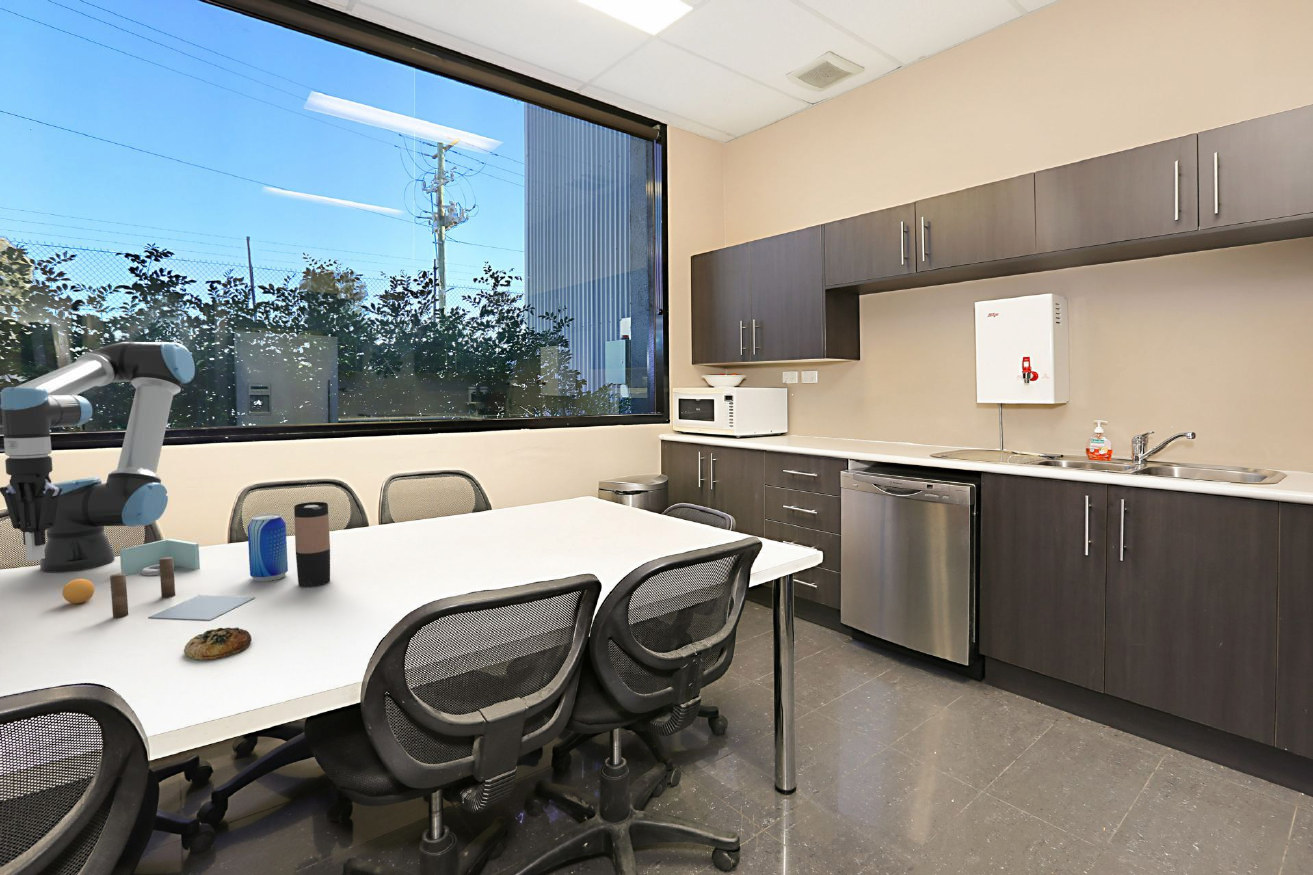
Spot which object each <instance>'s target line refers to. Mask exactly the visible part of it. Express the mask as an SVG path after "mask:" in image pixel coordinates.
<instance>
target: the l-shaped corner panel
mask: <svg viewBox="0 0 1313 875" xmlns="http://www.w3.org/2000/svg"><path fill="white" fill-rule="evenodd" d="M199 545H200V544H199V543H198V542H192V541H185V540H180V539H173V538H167V539H162V540H157V541H153V542H149V543H143V544H140V545H134V546H130V547H126V548H120V549H119V557H120V558H119V559H120V573H125V574H126V576H128V575H133V574H137V573H141V575H144V576H150V577H151V576H158V575H159V576H160V565H159V559H161V558H165V557H173V566H174V565H175V566H174V571H175V567H181V568H185V567H187V568H186V569H190V568H191V570H199V569H201V564H200V562H201V561H200V548H199Z"/></svg>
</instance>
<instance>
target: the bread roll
mask: <svg viewBox="0 0 1313 875" xmlns="http://www.w3.org/2000/svg"><path fill="white" fill-rule="evenodd" d="M251 643H252V635H251V633H250V632H249V631H248V630H246V629H244V628H240V627H237V626H236V627H224V628H223V627H218V628H216V629H213V628H212V629H209V630H206V631H204V632H203V633H201V634H198V635H195V636H193V637H192V638H190V640H189V641H188V642H187V643H186V644H185V646H184V649H183V653H184V655H185V656H186V657H187V658H189V659H193V660H199V661H214V660H219V659H223V658H227V657H229V656H232V655H235V654H238V653H239V654H240V653H241V652H243V651H244V650H246V649H247V648H249V646H250V645H251Z"/></svg>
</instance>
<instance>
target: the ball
mask: <svg viewBox="0 0 1313 875" xmlns="http://www.w3.org/2000/svg"><path fill="white" fill-rule="evenodd" d="M95 588H96V587H95V585H94V582H92V581H90V580H89V579H85V578H76V579H72V580H71V581H69V582H68V583H66V584H65V585H64V586H63V589H62V592H61V593H62V597H63V599H64V600H65V601H66V602H67V603H70V604H81V603H85V602H87V601H89V600H90V599H91V598H92V597H93V596H94V593H95V590H96V589H95Z"/></svg>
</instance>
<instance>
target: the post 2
mask: <svg viewBox="0 0 1313 875" xmlns="http://www.w3.org/2000/svg"><path fill="white" fill-rule="evenodd" d="M159 565H160V575H159V579H160V595H161V598H162V599H166V598H172V597H173V598H174V597H175V596H176V587H175V586H176V585H175V570H174V569H175V568H174V567H175V566H173V557H165V558H161V559H159Z"/></svg>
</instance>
